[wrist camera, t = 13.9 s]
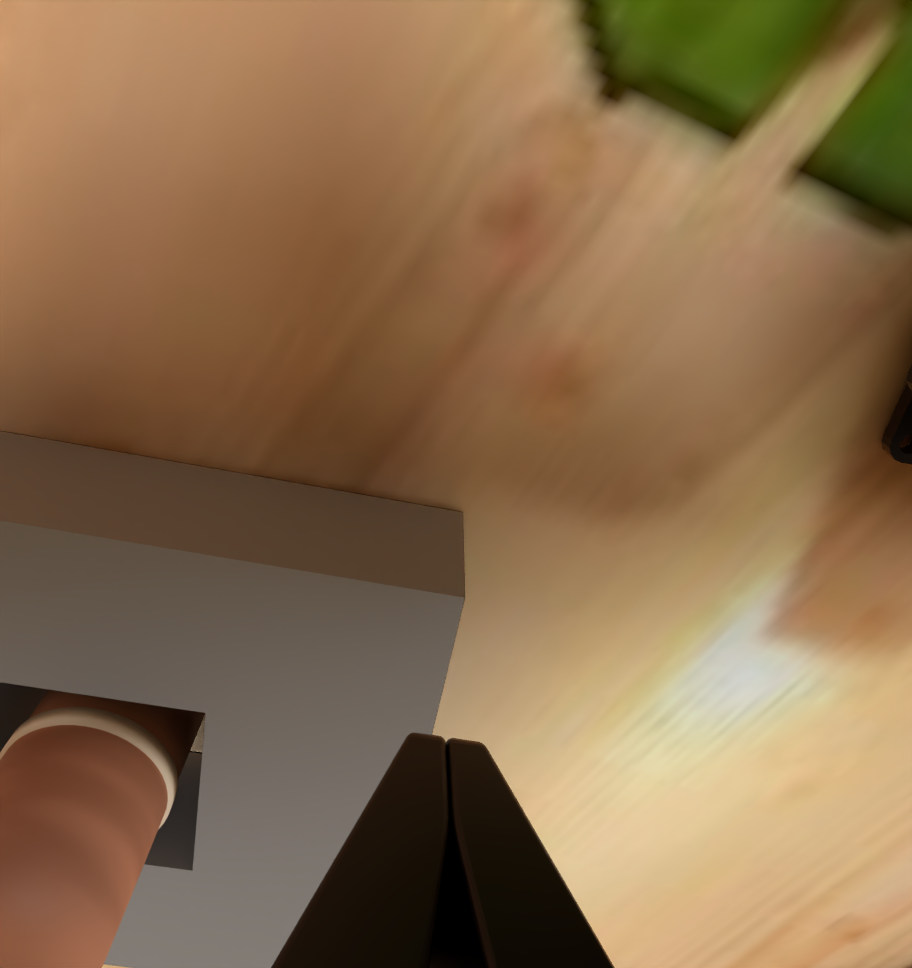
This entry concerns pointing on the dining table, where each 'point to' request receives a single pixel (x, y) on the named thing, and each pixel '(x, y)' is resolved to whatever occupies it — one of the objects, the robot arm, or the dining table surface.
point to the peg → (81, 821)
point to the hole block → (228, 664)
